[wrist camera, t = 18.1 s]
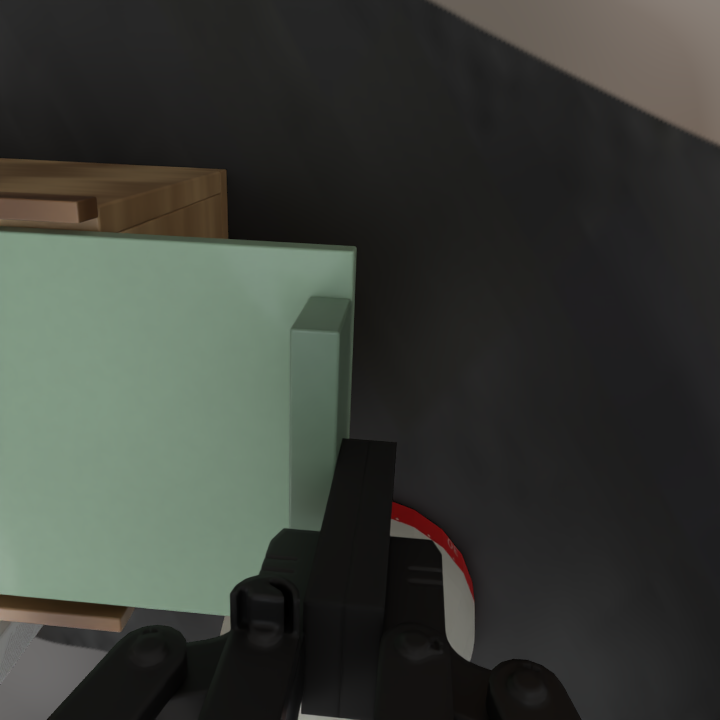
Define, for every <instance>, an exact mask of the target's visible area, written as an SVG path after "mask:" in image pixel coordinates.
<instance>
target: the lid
mask: <svg viewBox="0 0 720 720" xmlns="http://www.w3.org/2000/svg"><path fill="white" fill-rule="evenodd" d="M356 253H357V249H356V247H355V246H342V245H324V244H306V243H289V242H271V241H254V240H236V239H218V238H201V237H183V236H165V235H148V234H130V233H113V232H95V231H77V230H60V229H42V228H24V227H7V226H0V594H2V595H13V596H24V597H34V598H45V599H55V600H66V601H76V602H87V603H97V604H108V605H118V606H129V607H139V608H150V609H161V610H171V611H182V612H192V613H203V614H213V615H224V616H230V593H231V591H232V590H233V588H234V587H235V586H236V585H237V584H238V583H240V582H241V581H243V580H244V579H246V578H249V577H253V576H256V575H259V572H260V570H261V566H262V563H263V561H264V558H265V555H266V552H267V549H268V546H269V543H270V541H271V540H272V539H273V538H274V537H275V536H276V535H277V534H278V533H279V532H280V531H281V530H282V529H283V528H288V529H299V530H311V531H320V530H321V526H322V522H323V518H324V513H325V509H326V505H327V501H328V497H329V493H330V488H331V484H332V480H333V476H334V472H335V468H336V463H337V459H338V455H339V451H340V447H341V443H342V438H347V439H349V432H350V407H351V381H352V356H353V330H354V304H355V279H356Z"/></svg>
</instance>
